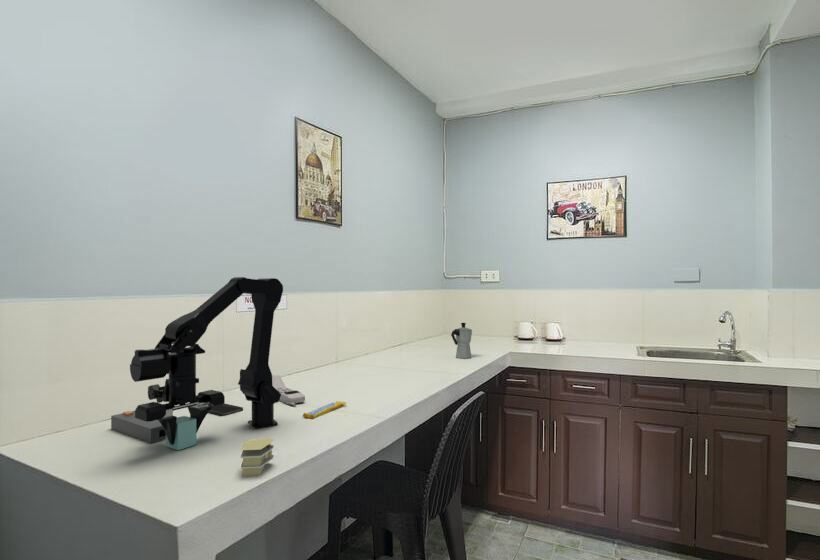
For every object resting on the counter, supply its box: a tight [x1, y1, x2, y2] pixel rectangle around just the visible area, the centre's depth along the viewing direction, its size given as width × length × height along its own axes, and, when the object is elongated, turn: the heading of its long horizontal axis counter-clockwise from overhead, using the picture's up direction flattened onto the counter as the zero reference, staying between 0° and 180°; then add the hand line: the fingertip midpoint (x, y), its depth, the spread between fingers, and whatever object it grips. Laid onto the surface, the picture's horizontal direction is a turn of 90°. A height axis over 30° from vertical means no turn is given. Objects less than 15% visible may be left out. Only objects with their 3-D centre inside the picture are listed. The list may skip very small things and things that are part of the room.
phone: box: [207, 402, 244, 417], centre depth 138 cm, size 8×1×15 cm
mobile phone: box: [272, 374, 306, 407], centre depth 152 cm, size 6×6×25 cm
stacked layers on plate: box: [240, 437, 275, 477], centre depth 94 cm, size 10×9×6 cm
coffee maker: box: [450, 322, 473, 360], centre depth 235 cm, size 15×9×18 cm, turn 130°
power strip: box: [110, 410, 166, 444], centre depth 117 cm, size 20×6×4 cm, turn 56°
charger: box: [165, 415, 197, 451], centre depth 108 cm, size 8×4×6 cm, turn 56°
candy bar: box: [302, 401, 347, 420], centre depth 136 cm, size 17×4×2 cm, turn 153°
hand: (182, 441), depth 107 cm, fingers closed on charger, 4 cm apart
